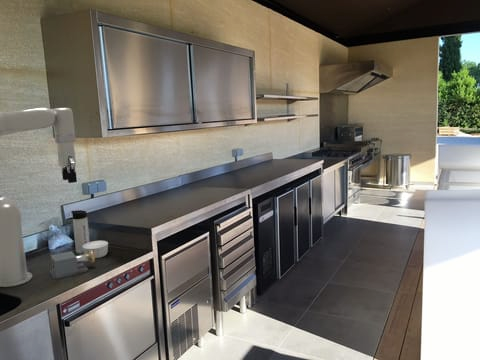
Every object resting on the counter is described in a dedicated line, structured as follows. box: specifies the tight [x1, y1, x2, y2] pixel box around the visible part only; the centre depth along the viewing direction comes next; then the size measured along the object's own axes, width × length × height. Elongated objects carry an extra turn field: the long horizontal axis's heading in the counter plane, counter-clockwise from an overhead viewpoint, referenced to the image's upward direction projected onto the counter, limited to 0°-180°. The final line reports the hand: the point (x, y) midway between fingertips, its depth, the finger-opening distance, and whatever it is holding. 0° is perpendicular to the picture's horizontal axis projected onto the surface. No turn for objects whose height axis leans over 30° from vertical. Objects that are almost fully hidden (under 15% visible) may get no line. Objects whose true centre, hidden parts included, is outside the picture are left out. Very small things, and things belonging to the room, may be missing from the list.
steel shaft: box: [75, 250, 96, 264], centre depth 171 cm, size 11×5×5 cm, turn 123°
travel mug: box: [71, 209, 91, 255], centre depth 191 cm, size 6×7×20 cm
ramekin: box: [82, 240, 109, 259], centre depth 188 cm, size 11×11×5 cm
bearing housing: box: [49, 250, 89, 280], centre depth 168 cm, size 13×9×7 cm
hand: (69, 181), depth 169 cm, fingers open, 9 cm apart
